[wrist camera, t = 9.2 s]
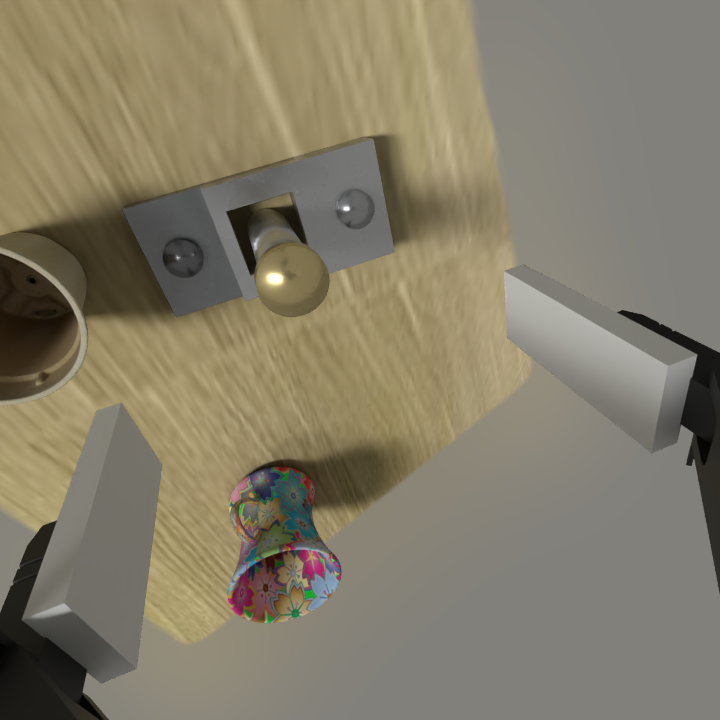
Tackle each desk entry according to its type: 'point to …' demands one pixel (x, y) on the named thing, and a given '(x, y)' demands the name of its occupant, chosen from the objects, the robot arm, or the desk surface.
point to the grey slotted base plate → (294, 175)
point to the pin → (285, 266)
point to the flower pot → (39, 317)
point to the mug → (278, 548)
